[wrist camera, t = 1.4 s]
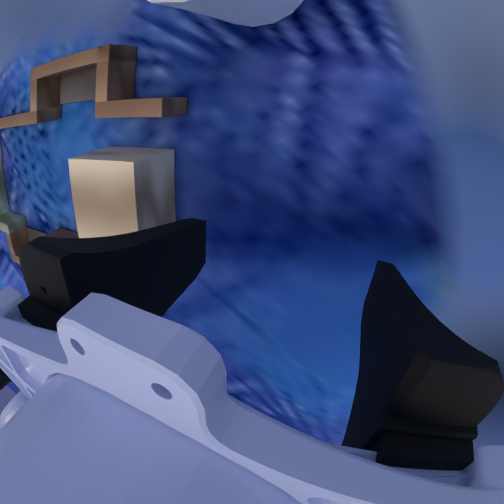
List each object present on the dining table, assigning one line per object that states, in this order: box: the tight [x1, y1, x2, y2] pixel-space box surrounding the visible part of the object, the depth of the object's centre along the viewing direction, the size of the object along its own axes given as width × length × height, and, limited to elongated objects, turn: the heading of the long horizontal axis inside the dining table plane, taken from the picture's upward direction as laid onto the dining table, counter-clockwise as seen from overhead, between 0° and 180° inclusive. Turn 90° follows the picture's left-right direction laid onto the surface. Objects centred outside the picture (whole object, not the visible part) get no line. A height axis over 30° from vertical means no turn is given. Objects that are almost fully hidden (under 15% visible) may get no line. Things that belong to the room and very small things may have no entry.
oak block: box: [68, 147, 176, 238], centre depth 18 cm, size 6×6×4 cm
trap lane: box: [0, 44, 188, 264], centre depth 21 cm, size 19×26×2 cm
